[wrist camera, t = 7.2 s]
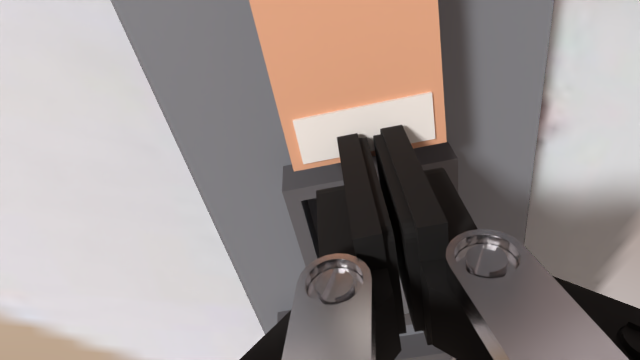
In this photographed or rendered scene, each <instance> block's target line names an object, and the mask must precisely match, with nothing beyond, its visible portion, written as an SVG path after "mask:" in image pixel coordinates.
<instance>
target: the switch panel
mask: <svg viewBox="0 0 640 360" xmlns="http://www.w3.org/2000/svg"><path fill="white" fill-rule="evenodd" d="M111 2H112V4H113V6H114V9H115V11H116V13H117V15H118V17H119V19H120V22H121V24H122V26H123V28H124V30H125V32H126V35H127V37H128V39H129V41H130V43H131V45H132V48H133V50H134V52H135V54H136V56H137V58H138V61H139V63H140V65H141V67H142V69H143V71H144V73H145V76H146V78H147V80H148V82H149V84H150V86H151V89H152V91H153V93H154V95H155V97H156V99H157V102H158V104H159V106H160V108H161V110H162V112H163V115H164V117H165V119H166V121H167V123H168V125H169V128H170V130H171V132H172V134H173V136H174V138H175V141H176V143H177V145H178V147H179V149H180V151H181V153H182V156H183V158H184V160H185V162H186V164H187V166H188V169H189V171H190V173H191V175H192V177H193V179H194V182H195V184H196V186H197V188H198V190H199V192H200V195H201V197H202V199H203V201H204V203H205V205H206V208H207V210H208V212H209V214H210V216H211V218H212V221H213V223H214V225H215V227H216V229H217V231H218V234H219V236H220V238H221V240H222V242H223V244H224V246H225V249H226V251H227V253H228V255H229V257H230V259H231V262H232V264H233V266H234V268H235V270H236V272H237V275H238V277H239V279H240V281H241V283H242V285H243V288H244V290H245V292H246V294H247V296H248V298H249V301H250V303H251V305H252V307H253V309H254V311H255V314H256V316H257V318H258V320H259V322H260V324H261V326H262V329H263V331H264V333H265V335H266V334H267V333H268V332H269V331H270V330H271V329H272V328H273V327H274V326H275V325H276V324H277V323H278V322H279V321H280V320H281V319H282V318H283V317H284V316H285V315H286V314H287V313H288V312H289V311H290V310H291V309H292V305H293V300H294V295H295V290H296V285H297V281H298V278H299V276H300V273H301V272H302V271H303V270H304V269H305V267H306V266H307V265H309V264H310V263H311V262H313V261H314V260H316V259H318V258H319V243H318V223H317V203H316V191H317V190H321V189H326V188H332V187H337V186H342V185H344V181H343V175H342V168H341V163H336V164H331V165H326V166H320V167H315V168H310V169H305V170H300V171H295V172H294V170H293V166H292V163H291V159H290V155H289V151H288V147H287V144H286V140H285V136H284V132H283V128H282V125H281V121H280V117H279V113H278V109H277V105H276V102H275V98H274V94H273V90H272V86H271V83H270V79H269V75H268V71H267V67H266V63H265V60H264V56H263V52H262V48H261V44H260V41H259V37H258V33H257V29H256V25H255V21H254V18H253V14H252V10H251V6H250V2H249V0H111ZM553 5H554V0H438V9H439V25H440V42H441V58H442V74H443V90H444V106H445V122H446V138H447V142H445V143H439V144H434V145H429V146H424V147H419V148H414V151H415V154H416V156H417V158H418V160H419V162H420V164H421V166H422V169H423V171H424V170H430V169H435V168H441V167H442V168H444V169H445V171H446V173H447V174H448V176H449V178H450V180H451V182H452V183H453V185H454V187H455V189H456V191H457V192H458V194H459V196H460V198H461V200H462V201H463V203H464V205H465V207H466V209H467V210H468V212H469V214H470V216H471V218H472V219H473V221H474V223H475V225H476V227H477V229H490V230H495V231H500V232H504V233H506V234H508V235H510V236H512V237H514V238H516V239H517V240H518V241H519V242H521V243H522V244H523V245H524V240H525V232H526V224H527V216H528V208H529V200H530V192H531V184H532V176H533V167H534V159H535V151H536V143H537V135H538V127H539V119H540V111H541V103H542V95H543V86H544V78H545V70H546V62H547V54H548V46H549V38H550V30H551V22H552V14H553ZM372 158H373V162H374V165H375V169H376V172H377V176H378V179H379V175H378V168H377V161H376V156H372ZM379 183H380V182H379ZM404 316H405V324H406V332H407V333H404V334H399V336H400V342H401V349H402V350H401V352H400V353H399V354H398V356H397V357H396V358H395V359H394V360H450V355H448V354H447V353H445V352H443V351H442V350H440V349H438V348H436V347H435V346H433V345H427V342H426V338H425V335H424V332H423V331H417V332H415V331H414V328H413V325H412V321H411V317H410V314H409V313H407V314H404Z"/></svg>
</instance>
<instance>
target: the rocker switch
mask: <svg viewBox="0 0 640 360" xmlns="http://www.w3.org/2000/svg"><path fill="white" fill-rule="evenodd" d="M249 2H250V6H251V10H252V14H253V18H254V21H255V25H256V29H257V33H258V37H259V41H260V44H261V48H262V52H263V56H264V60H265V63H266V67H267V71H268V75H269V79H270V83H271V86H272V90H273V94H274V98H275V102H276V105H277V109H278V113H279V117H280V121H281V125H282V128H283V132H284V136H285V140H286V144H287V147H288V151H289V155H290V159H291V163H292V166H293V170H294V172H295V171H300V170H305V169H310V168H315V167H320V166H326V165H331V164H336V163H341V162H340V155H339V149H338V142H337V137H340V136H345V135H350V134H355V133H357V134H358V138H364V137H367V141H368V144H369V148H370V151H371V155H372V156H376V154H375V147H374V140H373V136H374V135H380V129H382V128H387V127H392V126H397V125H402V126H403V128H404V130H405V132H406V134H407V137H408V139H409V141H410V143H411V145H412V147H413V149H414V148H419V147H424V146H429V145H434V144H439V143H445V142H447V138H446V122H445V106H444V90H443V74H442V58H441V42H440V25H439V9H438V0H249Z"/></svg>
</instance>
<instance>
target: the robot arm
mask: <svg viewBox="0 0 640 360" xmlns="http://www.w3.org/2000/svg"><path fill="white" fill-rule="evenodd" d="M373 140H374V147H375V154H376V161H377V168H378V175H379V179H378V176H377V172H376V169H375V165H374V162H373V158H372V155H371V151H370V148H369V144H368V141H367V137H364V138H358V134H357V133H355V134H350V135H345V136H340V137H337V142H338V149H339V155H340V162H341V168H342V175H343V181H344V185H342V186H337V187H332V188H326V189H321V190H317V191H316V203H317V223H318V243H319V258H318V259H316V260H314V261H313V262H311V263H310V264H309V265H307V266H306V267H305V269H304V270H303V271H302V272H301V273H300V276H299V278H298V281H297V285H296V290H295V295H294V300H293V305H292V309H291V310H290V311H289V312H288V313H287V314H286V315H285V316H284V317H283V318H282V319H281V320H280V321H279V322H278V323H277V324H276V325H275V326H274V327H273V328H272V329H271V330H270V331H269V332H268V333H267V334H266V335H265V336H263V337H262V338H261V339H260V340H259V341H258V342H257V343H256V344H255V345H254V346H253V347H252V348H251V349H250V350H249V351H248V352H247V353H246V354H245V355H244V356H243V357H242V358H241V359H240V360H394V359H395V358H396V357H397V356H398V354H399V353H400V352H401V350H402V349H401V342H400V336H399V334H404V333H407V332H406V324H405V316H404V308H403V301H402V293H401V285H400V280H401V284H402V288H403V291H404V295H405V299H406V302H407V306H408V310H409V314H410V317H411V321H412V325H413V328H414V331H415V332H417V331H423V332H424V335H425V338H426V342H427V345H433V346H435V347H436V348H438V349H440V350H442V351H443V352H445V353H447V354H448V355H450V360H640V309H638V308H636V307H633V306H631V305H628V304H625V303H623V302H620V301H618V300H614V299H612V298H610V297H607V296H604V295H602V294H599V293H596V292H594V291H591V290H588V289H586V288H583V287H580V286H578V285H575V284H572V283H570V282H567V281H564V280H562V279H559V278H556V277H554V276H552V275H551V274H550V273H549V272H548V271H547V270H546V269H545V268H544V267H543V266H542V265H541V263H540V262H539V261H538V260H537V259H536V258H535V257H534V256H533V255H532V254H531V253H530V251H529V250H528V249H527V248H526V247H525V246H524V245H523V244H522V243H521V242H519V241H518V240H517V239H516V238H514V237H512V236H510V235H508V234H506V233H504V232H500V231H495V230H490V229H477V227H476V225H475V223H474V221H473V219H472V218H471V216H470V214H469V212H468V210H467V209H466V207H465V205H464V203H463V201H462V200H461V198H460V196H459V194H458V192H457V191H456V189H455V187H454V185H453V183H452V182H451V180H450V178H449V176H448V174H447V173H446V171H445V169H444V168H442V167H441V168H435V169H430V170H424V171H423V169H422V166H421V164H420V162H419V160H418V158H417V156H416V154H415V151H414V149H413V147H412V145H411V143H410V141H409V139H408V137H407V134H406V132H405V130H404V128H403V126H402V125H397V126H392V127H387V128H382V129H380V135H374V136H373ZM379 182H380V183H379ZM399 276H400V277H399Z"/></svg>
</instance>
